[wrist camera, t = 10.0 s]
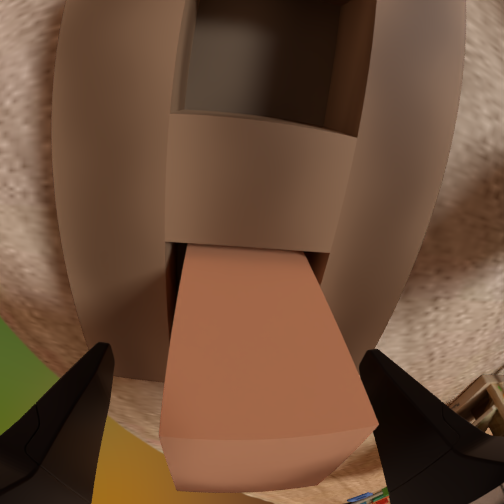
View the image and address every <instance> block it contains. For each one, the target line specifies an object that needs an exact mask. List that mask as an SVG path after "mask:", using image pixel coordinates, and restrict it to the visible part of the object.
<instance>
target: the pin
mask: <svg viewBox="0 0 504 504" xmlns="http://www.w3.org/2000/svg"><path fill="white" fill-rule="evenodd" d="M378 425H379V423H378V421H377V418H376V415H375V413H374V410H373V408H372V405H371V403H370V400H369V398H368V395H367V393H366V391H365V388H364V386H363V383H362V381H361V378H360V376H359V374H358V371H357V369H356V367H355V364H354V362H353V359H352V357H351V355H350V352H349V350H348V348H347V346H346V343H345V341H344V339H343V336H342V334H341V332H340V330H339V327H338V325H337V323H336V321H335V318H334V316H333V314H332V312H331V310H330V307H329V305H328V303H327V301H326V299H325V296H324V294H323V292H322V290H321V288H320V286H319V284H318V281H317V279H316V277H315V275H314V273H313V271H312V269H311V267H310V264H309V262H308V260H307V258H306V256H305V254H304V252H303V251H296V250H282V249H268V248H254V247H240V246H225V245H210V244H196V243H188V244H187V249H186V254H185V259H184V264H183V270H182V275H181V280H180V286H179V291H178V297H177V303H176V309H175V315H174V321H173V327H172V333H171V340H170V347H169V354H168V361H167V368H166V376H165V384H164V392H163V400H162V409H161V419H160V429H159V438H160V442H161V445H162V448H163V451H164V455H165V458H166V461H167V464H168V467H169V470H170V473H171V476H172V479H173V482H174V484H175V487H176V490H177V491H189V492H209V493H210V492H212V493H236V492H237V493H240V492H261V491H274V490H285V489H293V488H301V487H308V486H315V485H318V484H319V483H320V482H322V481H323V480H324V479H325V478H326V477H327V476H328V475H330V474H331V473H332V472H333V471H334V470H335V469H336V468H337V467H338V466H339V465H340V464H341V463H343V462H344V461H345V460H346V459H347V458H348V457H349V456H350V455H351V454H352V453H353V452H354V451H355V450H356V449H357V448H358V447H359V446H360V445H361V444H362V443H363V442H364V441H365V439H366V438H367V437H368V436H369V435H370V434H371V433H372V432H373V431H374V430H375V429H376V428H377V426H378Z"/></svg>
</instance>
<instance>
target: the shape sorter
mask: <svg viewBox="0 0 504 504" xmlns="http://www.w3.org/2000/svg"><path fill="white" fill-rule="evenodd" d="M388 493H389V492H388V489H387V487H386V488H383V489H382V491H381V492H378V493H375V494H372V493H369V492H368V493H365V494H362V495H359V496H357V497H354V498H351V499H348V500H347V501H348V502H353V503H351V504H386V503H388V500H387V498H389V494H388ZM363 498H364V499H363ZM360 499H361V500H360ZM358 500H359V501H358ZM355 501H356V502H355Z"/></svg>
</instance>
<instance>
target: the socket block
mask: <svg viewBox="0 0 504 504" xmlns="http://www.w3.org/2000/svg"><path fill="white" fill-rule="evenodd" d="M465 40H466V0H66V3H65V7H64V12H63V16H62V21H61V27H60V32H59V38H58V45H57V52H56V60H55V69H54V79H53V93H52V119H51V140H52V167H53V181H54V193H55V202H56V211H57V218H58V225H59V232H60V238H61V244H62V250H63V255H64V260H65V265H66V270H67V274H68V279H69V283H70V287H71V291H72V295H73V299H74V303H75V307H76V311H77V314H78V318H79V321H80V324H81V328H82V331H83V334H84V337H85V340H86V343H87V346H88V349H89V350H90V349H91V348H92V347H93V346H94V345H95V344H96V343H98V342H106V343H109V344H110V345H111V348H112V352H113V355H114V359H115V366H114V374H113V376H116V377H123V378H131V379H138V380H147V381H156V382H165V376H166V368H167V361H168V354H169V347H170V340H171V333H172V327H173V321H174V315H175V309H176V303H177V297H178V291H179V286H180V280H181V275H182V270H183V264H184V259H185V254H186V249H187V244H188V243H196V244H210V245H225V246H240V247H254V248H268V249H282V250H296V251H303V252H304V254H305V256H306V258H307V260H308V262H309V264H310V267H311V269H312V271H313V273H314V275H315V277H316V279H317V281H318V284H319V286H320V288H321V290H322V292H323V294H324V296H325V299H326V301H327V303H328V305H329V307H330V310H331V312H332V314H333V316H334V318H335V321H336V323H337V325H338V327H339V330H340V332H341V334H342V336H343V339H344V341H345V343H346V346H347V348H348V350H349V352H350V355H351V357H352V359H353V362H354V364H355V367H356V369H357V371H358V374H359V375H360V372H359V364H360V362H361V360H362V358H363V357H364V355H365V353H366V351H367V350H370V349H375V347H376V345H377V343H378V341H379V339H380V337H381V335H382V333H383V331H384V329H385V328H386V326H387V323H388V321H389V319H390V317H391V315H392V313H393V311H394V309H395V307H396V305H397V303H398V300H399V298H400V296H401V294H402V291H403V289H404V287H405V285H406V282H407V280H408V278H409V275H410V273H411V270H412V268H413V265H414V263H415V260H416V258H417V255H418V253H419V250H420V247H421V245H422V242H423V239H424V237H425V234H426V231H427V228H428V225H429V222H430V219H431V216H432V213H433V210H434V207H435V204H436V200H437V197H438V194H439V190H440V187H441V183H442V180H443V176H444V172H445V168H446V164H447V160H448V156H449V152H450V148H451V143H452V139H453V134H454V129H455V124H456V118H457V112H458V106H459V100H460V93H461V86H462V77H463V68H464V56H465Z"/></svg>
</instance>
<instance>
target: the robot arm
mask: <svg viewBox="0 0 504 504" xmlns="http://www.w3.org/2000/svg"><path fill="white" fill-rule="evenodd" d="M114 366H115V359H114V355H113V352H112V348H111V345H110V344H109V343H106V342H98V343H96V344H95V345H94V346H93V347H92V348H91V349H90V350H89V351H88V352H87V353H86V354H85V355H84V356H83V357H82V358H81V359H80V360H79V361H78V362H77V363H76V364H75V365H73V366H72V367H71V368H70V369H69V370H68V371H67V372H66V373H65V374H64V375H63V376H62V377H61V378H60V379H59V380H58V381H57V382H56V383H55V384H54V385H53V386H52V387H51V388H50V389H49V390H48V391H47V392H46V393H45V394H44V395H43V396H42V397H41V398H40V399H39V400H38V402H36V404H34V405H33V406H32V407H31V409H30V410H29V411H28V412H27V413H25V415H23V416H22V417H21V418H20V420H18V421H17V422H16V423H15V424H14V425H12V426H11V427H10V428H9V429H8V430H6V431H5V432H4V433H3V434H2V435H0V504H91V502H92V494H93V488H94V481H95V475H96V468H97V463H98V457H99V452H100V446H101V441H102V436H103V431H104V426H105V422H106V418H107V413H108V409H109V404H110V397H111V389H112V381H113V374H114ZM359 372H360V378H361V381H362V383H363V386H364V388H365V391H366V393H367V395H368V398H369V400H370V403H371V405H372V408H373V410H374V413H375V415H376V418H377V421H378V423H379V425H378V426H377V428H376V429H375V430H374V431H373V433H374V437H375V441H376V444H377V448H378V452H379V456H380V460H381V464H382V468H383V472H384V476H385V480H386V485H387V489H388V492H389V493H388V494H389V499H390V503H391V504H504V437H498V436H492V435H489V434H486V433H485V432H483V431H482V430H480V429H479V428H477V427H476V426H474V425H473V424H471V423H470V422H468V421H467V420H465V419H464V418H463V417H461V416H460V415H458V414H457V413H456V412H454V411H453V410H452V409H451V408H449V407H448V406H447V405H446V404H444V403H443V402H441V400H439V399H438V398H437V397H436V396H435V395H433V394H432V393H431V392H430V391H428V390H427V389H426V388H425V387H424V386H422V385H421V384H420V383H419V382H417V381H416V380H415V379H414V378H413V377H411V376H410V375H409V374H408V373H407V372H405V371H404V370H403V369H402V368H400V367H399V366H398V365H397V364H396V363H394V362H393V361H392V360H391V359H389V358H388V357H387V356H386V355H385V354H383V353H382V352H381V351H380V350H378V349H370V350H367V351H366V353H365V355H364V357H363V358H362V360H361V362H360V364H359Z"/></svg>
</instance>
